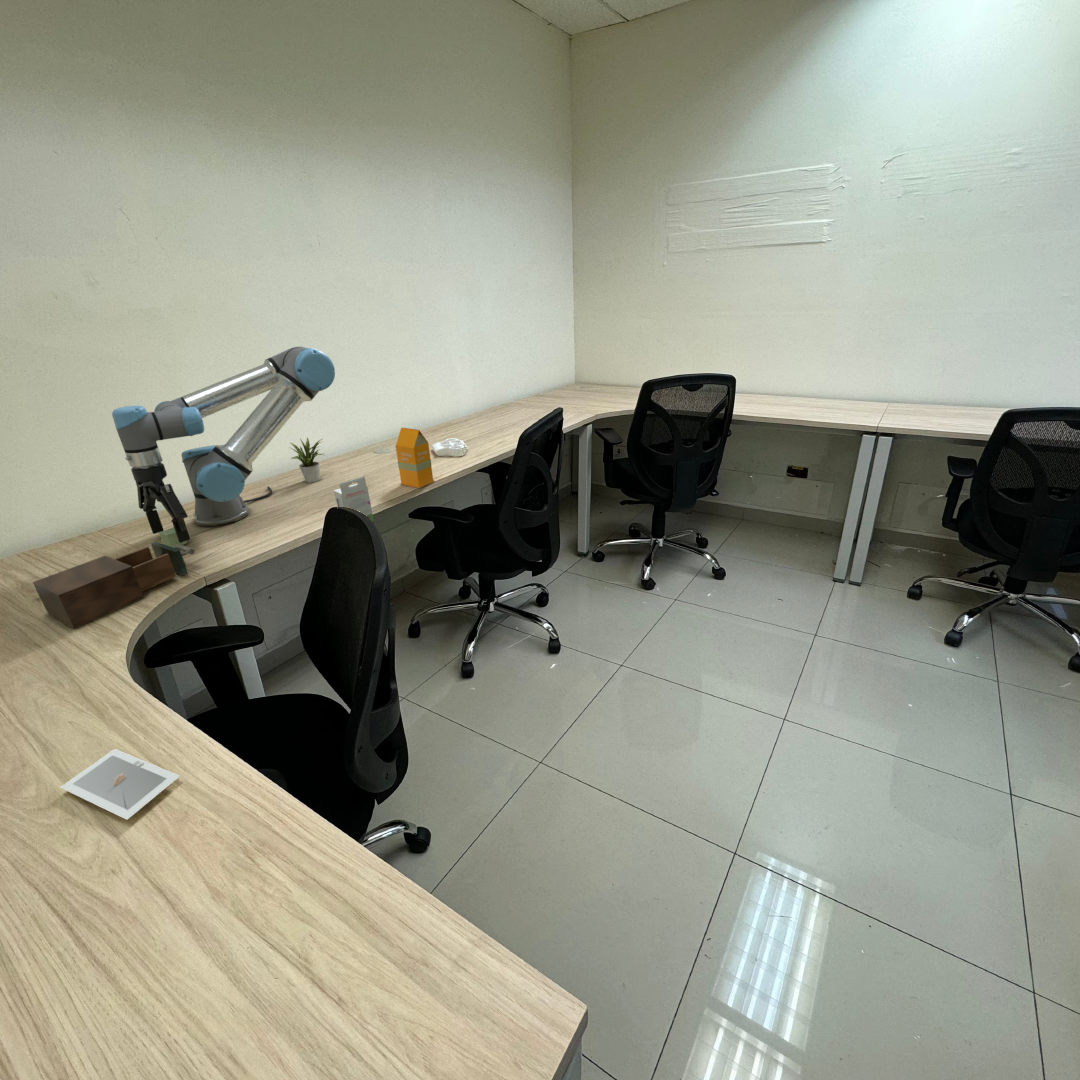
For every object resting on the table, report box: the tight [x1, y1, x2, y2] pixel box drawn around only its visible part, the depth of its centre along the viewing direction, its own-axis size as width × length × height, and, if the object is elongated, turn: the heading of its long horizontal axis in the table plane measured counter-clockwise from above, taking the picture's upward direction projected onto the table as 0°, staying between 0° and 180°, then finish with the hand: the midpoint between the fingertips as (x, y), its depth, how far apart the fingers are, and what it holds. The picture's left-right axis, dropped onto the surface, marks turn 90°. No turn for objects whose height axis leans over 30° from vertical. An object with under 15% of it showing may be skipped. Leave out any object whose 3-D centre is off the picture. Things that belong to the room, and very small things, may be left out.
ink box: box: [333, 476, 375, 523], centre depth 165 cm, size 9×5×15 cm, turn 134°
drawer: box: [114, 541, 196, 592], centre depth 138 cm, size 18×11×7 cm, turn 150°
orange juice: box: [395, 427, 434, 489], centre depth 197 cm, size 8×9×20 cm
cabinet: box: [32, 555, 145, 630], centre depth 127 cm, size 15×13×9 cm
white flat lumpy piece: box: [431, 437, 470, 458], centre depth 236 cm, size 3×18×15 cm
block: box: [158, 526, 188, 547], centre depth 158 cm, size 4×4×4 cm
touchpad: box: [59, 748, 181, 821], centre depth 81 cm, size 8×15×2 cm, turn 67°
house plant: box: [288, 437, 326, 484], centre depth 204 cm, size 14×14×16 cm
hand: (171, 536), depth 158 cm, fingers open, 13 cm apart
